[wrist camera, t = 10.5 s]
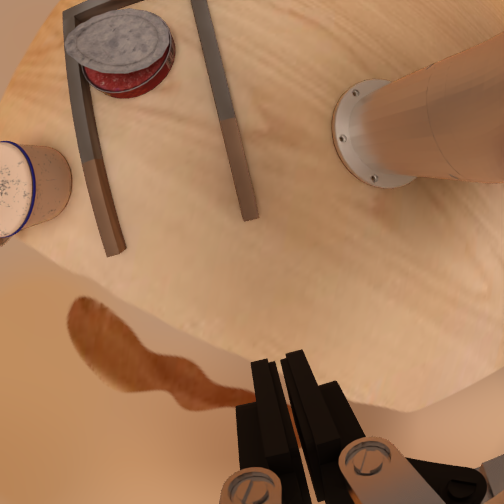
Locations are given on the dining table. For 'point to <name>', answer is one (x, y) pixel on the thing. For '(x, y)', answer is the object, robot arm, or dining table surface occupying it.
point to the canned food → (123, 51)
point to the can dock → (87, 134)
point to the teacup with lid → (30, 186)
